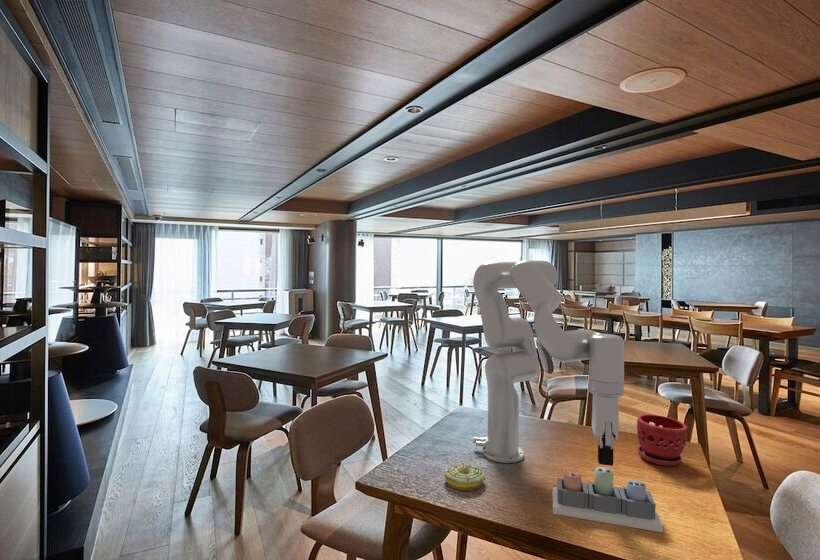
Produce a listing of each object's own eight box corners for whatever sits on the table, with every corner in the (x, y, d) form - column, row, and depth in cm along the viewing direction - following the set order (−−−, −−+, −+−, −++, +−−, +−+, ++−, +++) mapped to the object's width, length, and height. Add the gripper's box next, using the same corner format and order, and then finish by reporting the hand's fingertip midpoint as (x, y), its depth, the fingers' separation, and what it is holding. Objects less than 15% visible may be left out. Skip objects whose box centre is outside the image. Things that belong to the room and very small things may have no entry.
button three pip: (628, 508, 100) (628, 486, 99) (625, 499, 103) (625, 478, 103) (647, 511, 98) (648, 489, 98) (643, 502, 102) (644, 480, 102)
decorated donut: (492, 482, 117) (492, 468, 117) (469, 498, 109) (470, 483, 109) (460, 469, 124) (460, 456, 124) (437, 483, 116) (437, 470, 116)
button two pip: (595, 494, 102) (595, 472, 102) (593, 486, 106) (594, 465, 105) (614, 497, 100) (614, 475, 100) (611, 488, 104) (612, 467, 104)
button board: (552, 513, 102) (553, 492, 102) (552, 492, 111) (552, 473, 111) (662, 532, 95) (663, 510, 95) (652, 508, 104) (652, 488, 104)
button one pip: (563, 498, 104) (564, 476, 104) (563, 489, 108) (563, 469, 108) (581, 500, 103) (582, 479, 103) (580, 492, 106) (580, 471, 106)
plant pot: (661, 472, 123) (662, 430, 123) (626, 453, 136) (627, 415, 135) (696, 466, 127) (698, 426, 126) (659, 448, 139) (660, 411, 139)
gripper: (586, 378, 110) (585, 449, 111) (592, 393, 96) (591, 475, 97) (618, 380, 108) (618, 453, 108) (629, 396, 94) (628, 480, 94)
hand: (605, 463), depth 103 cm, fingers closed
